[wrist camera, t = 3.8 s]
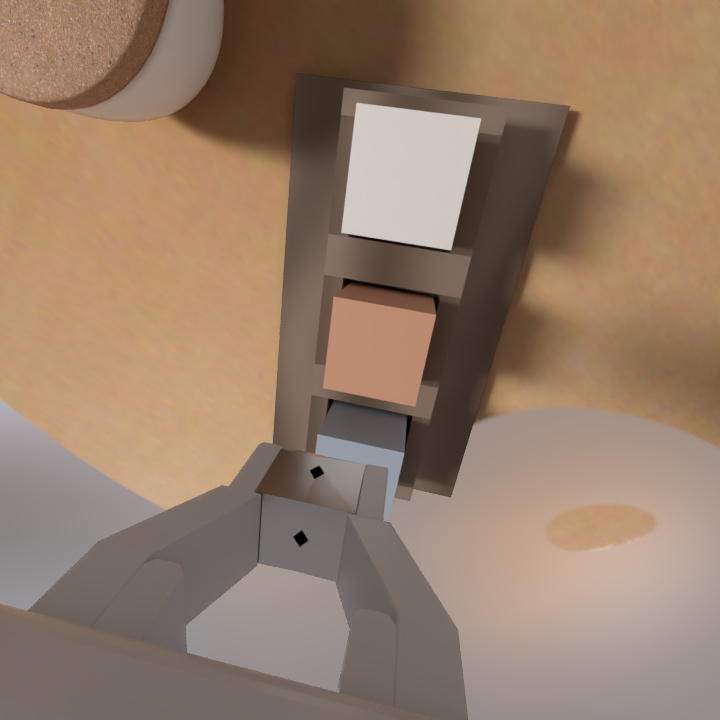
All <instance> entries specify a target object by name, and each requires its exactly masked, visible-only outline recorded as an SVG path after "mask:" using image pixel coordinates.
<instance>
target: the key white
mask: <svg viewBox="0 0 720 720" xmlns="http://www.w3.org/2000/svg"><path fill="white" fill-rule="evenodd" d="M480 123H481V118H474V117H466V116H458V115H450V114H442V113H434V112H426V111H418V110H410V109H402V108H394V107H386V106H378V105H370V104H362V103H356V111H355V120H354V128H353V137H352V145H351V154H350V162H349V171H348V179H347V188H346V196H345V205H344V213H343V222H342V230H341V233H346V234H352V235H358V236H365V237H371V238H377V239H383V240H390V241H396V242H402V243H408V244H414V245H421V246H427V247H433V248H439V249H445V250H451V249H452V244H453V240H454V236H455V231H456V227H457V223H458V218H459V214H460V210H461V205H462V201H463V196H464V192H465V188H466V183H467V179H468V175H469V170H470V166H471V162H472V157H473V153H474V149H475V144H476V140H477V136H478V131H479V127H480Z"/></svg>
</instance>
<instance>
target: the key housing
mask: <svg viewBox="0 0 720 720" xmlns="http://www.w3.org/2000/svg"><path fill="white" fill-rule="evenodd" d="M356 103H362V104H370V105H378V106H386V107H394V108H402V109H410V110H418V111H426V112H434V113H442V114H450V115H458V116H466V117H474V118H481V123H480V127H479V131H478V136H477V140H476V144H475V149H474V153H473V157H472V162H471V166H470V170H469V175H468V179H467V183H466V188H465V192H464V196H463V201H462V205H461V210H460V214H459V218H458V223H457V227H456V231H455V236H454V240H453V244H452V249H451V250H445V249H439V248H433V247H427V246H421V245H414V244H408V243H402V242H396V241H390V240H383V239H377V238H371V237H365V236H358V235H352V234H346V233H341V230H342V222H343V213H344V205H345V196H346V188H347V179H348V171H349V162H350V154H351V145H352V137H353V128H354V120H355V111H356ZM569 108H570V106H565V105H556V104H548V103H540V102H531V101H523V100H515V99H506V98H498V97H490V96H481V95H473V94H464V93H456V92H448V91H439V90H431V89H423V88H414V87H406V86H398V85H389V84H381V83H373V82H364V81H356V80H348V79H339V78H331V77H323V76H314V75H306V74H298V73H296V89H295V104H294V120H293V136H292V151H291V167H290V183H289V199H288V214H287V230H286V246H285V261H284V277H283V293H282V309H281V324H280V340H279V356H278V371H277V387H276V403H275V418H274V434H273V444H275V445H279V446H282V447H288V448H293V449H297V450H301V451H306V452H310V453H314V454H315V451H316V443H317V434H318V432H319V430H320V428H321V426H322V424H323V422H324V420H325V418H326V416H327V414H328V412H329V410H330V408H331V406H332V404H333V402H334V400H339V401H344V402H348V403H353V404H358V405H363V406H368V407H373V408H378V409H382V410H387V411H392V412H397V413H402V414H407V424H406V439H405V453H404V458H403V462H402V466H401V471H400V475H399V479H398V484H397V488H396V492H395V497H394V498H399V499H403V500H408V501H410V499H411V495H412V491H413V489H416V490H421V491H425V492H429V493H434V494H439V495H443V496H448V497H451V495H452V492H453V488H454V485H455V482H456V479H457V475H458V472H459V469H460V465H461V462H462V459H463V456H464V452H465V449H466V446H467V443H468V439H469V436H470V433H471V430H472V426H473V423H474V420H475V416H476V413H477V410H478V407H479V403H480V400H481V397H482V393H483V390H484V387H485V384H486V380H487V377H488V374H489V371H490V367H491V364H492V361H493V357H494V354H495V351H496V348H497V344H498V341H499V338H500V334H501V331H502V328H503V325H504V321H505V318H506V315H507V312H508V308H509V305H510V302H511V298H512V295H513V292H514V289H515V285H516V282H517V279H518V275H519V272H520V269H521V266H522V262H523V259H524V256H525V253H526V249H527V246H528V243H529V239H530V236H531V233H532V230H533V226H534V223H535V220H536V216H537V213H538V210H539V207H540V203H541V200H542V197H543V194H544V190H545V187H546V184H547V180H548V177H549V174H550V171H551V167H552V164H553V161H554V157H555V154H556V151H557V148H558V144H559V141H560V138H561V135H562V131H563V128H564V125H565V121H566V118H567V115H568V112H569ZM350 283H355V284H361V285H367V286H372V287H378V288H384V289H390V290H395V291H401V292H407V293H413V294H418V295H424V296H430V297H433V300H434V305H435V310H436V318H435V323H434V327H433V331H432V336H431V340H430V344H429V349H428V353H427V357H426V362H425V366H424V370H423V375H422V379H421V384H420V388H419V392H418V397H417V401H416V405H415V407H414V406H409V405H404V404H399V403H394V402H389V401H384V400H379V399H374V398H370V397H365V396H360V395H355V394H350V393H345V392H340V391H335V390H330V389H325V388H323V383H324V375H325V366H326V358H327V349H328V341H329V332H330V324H331V315H332V307H333V298H334V296H335V295H336V294H337V293H339V292H340V291H341V290H342V289H343V288H345V287H346V286H347V285H348V284H350Z"/></svg>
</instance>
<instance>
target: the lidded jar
mask: <svg viewBox="0 0 720 720" xmlns="http://www.w3.org/2000/svg"><path fill="white" fill-rule="evenodd" d="M223 22H224V0H0V93H3V94H5V95H7V96H9V97H11V98H14V99H17V100H20V101H24V102H27V103H31V104H35V105H39V106H42V107H46V108H51V109H60V110H64V111H67V112H71V113H75V114H79V115H82V116H86V117H90V118H94V119H100V120H107V121H117V122H144V121H151V120H156V119H159V118H162V117H165V116H167V115H170V114H173V113H175V112H177V111H178V110H180V109H181V108H183V107H185V106H186V105H187V104H188V103H189V102H190V101H191V100H192V99H194V98H195V97H196V96H197V95H198V93H199V92H200V91H201V89H202V88H203V87H204V85H205V84H206V83H207V81H208V79H209V77H210V75H211V73H212V71H213V69H214V67H215V64H216V61H217V58H218V55H219V51H220V46H221V41H222V35H223Z"/></svg>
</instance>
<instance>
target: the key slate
mask: <svg viewBox="0 0 720 720" xmlns="http://www.w3.org/2000/svg"><path fill="white" fill-rule="evenodd" d="M406 424H407V414H402V413H397V412H392V411H387V410H382V409H378V408H373V407H368V406H363V405H358V404H353V403H348V402H344V401H339V400H334V402H333V404H332V406H331V408H330V410H329V412H328V414H327V416H326V418H325V420H324V422H323V424H322V426H321V428H320V430H319V432H318V434H317V443H316V451H315V454H318V455H323V456H325V457H330V458H335V459H340V460H345V461H350V462H355V463H360V464H364V465H365V467H366V464H369V465H374V466H380V467H385V468H387V469H388V479H387V489H386V499H385V509H384V519H383V520H388V521H389V518H390V514H391V510H392V505H393V501H394V497H395V492H396V488H397V484H398V479H399V475H400V471H401V466H402V462H403V458H404V453H405V439H406ZM364 472H365V471H364Z"/></svg>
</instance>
